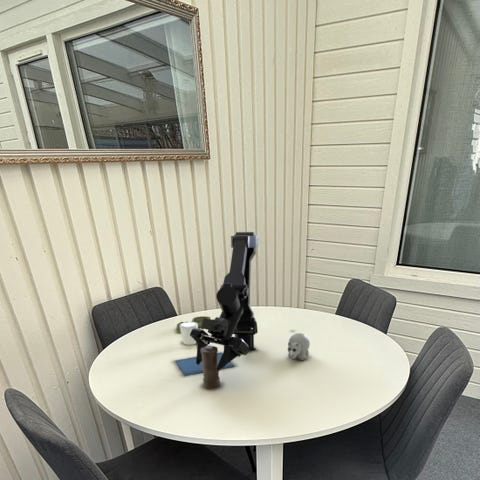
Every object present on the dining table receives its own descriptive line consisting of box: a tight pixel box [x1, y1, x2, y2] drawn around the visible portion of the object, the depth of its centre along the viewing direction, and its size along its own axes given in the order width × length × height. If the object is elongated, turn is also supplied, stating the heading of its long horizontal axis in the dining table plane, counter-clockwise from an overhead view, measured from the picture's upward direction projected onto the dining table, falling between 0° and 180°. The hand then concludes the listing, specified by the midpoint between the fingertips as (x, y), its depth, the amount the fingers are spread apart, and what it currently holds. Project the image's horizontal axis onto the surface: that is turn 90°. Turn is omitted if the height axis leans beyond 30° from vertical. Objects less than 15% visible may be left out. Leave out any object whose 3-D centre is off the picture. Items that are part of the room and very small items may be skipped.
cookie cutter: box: [176, 315, 215, 333], centre depth 172 cm, size 18×12×2 cm, turn 149°
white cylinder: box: [179, 321, 198, 346], centre depth 156 cm, size 7×7×7 cm
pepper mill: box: [201, 344, 221, 390], centre depth 122 cm, size 5×5×12 cm
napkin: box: [174, 352, 235, 377], centre depth 140 cm, size 17×13×1 cm
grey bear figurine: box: [287, 332, 311, 361], centre depth 138 cm, size 7×12×8 cm, turn 152°
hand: (207, 367), depth 121 cm, fingers open, 8 cm apart
